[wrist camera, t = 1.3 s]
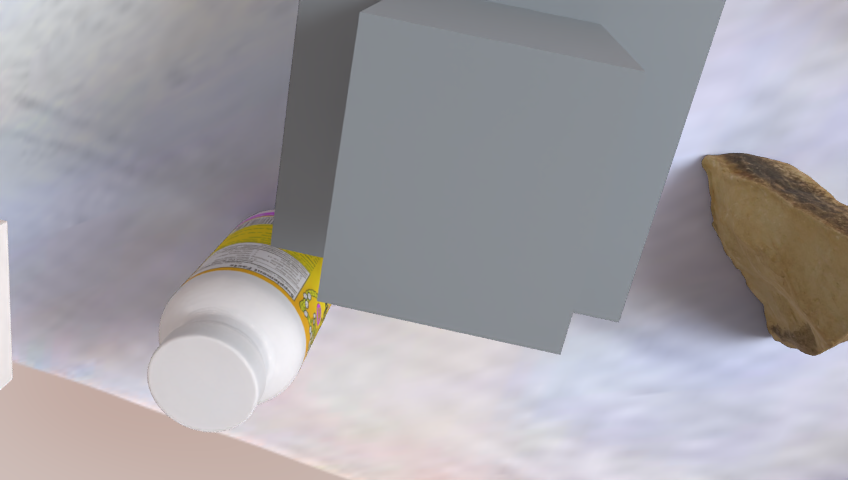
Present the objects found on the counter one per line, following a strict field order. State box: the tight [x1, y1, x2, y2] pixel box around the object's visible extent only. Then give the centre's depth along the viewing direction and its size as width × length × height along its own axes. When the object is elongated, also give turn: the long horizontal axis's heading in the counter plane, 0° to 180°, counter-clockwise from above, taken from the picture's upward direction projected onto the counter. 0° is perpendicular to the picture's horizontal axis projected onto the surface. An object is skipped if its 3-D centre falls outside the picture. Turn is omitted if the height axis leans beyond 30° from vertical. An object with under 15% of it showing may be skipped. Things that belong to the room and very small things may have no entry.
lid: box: [271, 0, 726, 354], centre depth 25 cm, size 15×15×11 cm
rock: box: [702, 153, 848, 356], centre depth 37 cm, size 11×9×10 cm
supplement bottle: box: [147, 210, 331, 432], centre depth 37 cm, size 7×7×13 cm
